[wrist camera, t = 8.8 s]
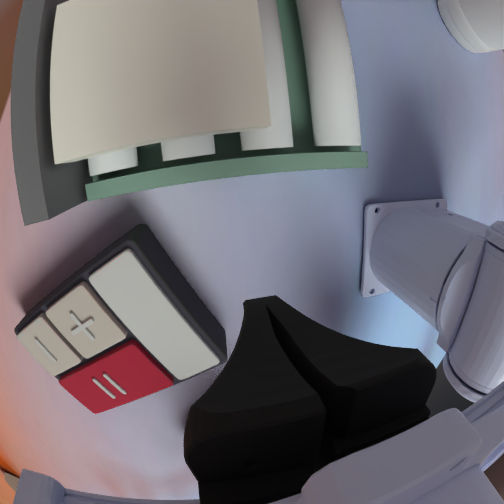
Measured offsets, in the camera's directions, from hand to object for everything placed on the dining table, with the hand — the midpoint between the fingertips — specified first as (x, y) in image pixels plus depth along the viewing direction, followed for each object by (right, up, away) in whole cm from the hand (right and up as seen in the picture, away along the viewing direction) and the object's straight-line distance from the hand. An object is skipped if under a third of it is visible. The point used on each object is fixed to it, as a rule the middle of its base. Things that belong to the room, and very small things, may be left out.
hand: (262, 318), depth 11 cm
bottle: (+22, +27, +5) cm, 35 cm away
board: (-5, +12, 0) cm, 13 cm away
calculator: (-12, -3, +10) cm, 16 cm away
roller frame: (-3, +14, +5) cm, 15 cm away
